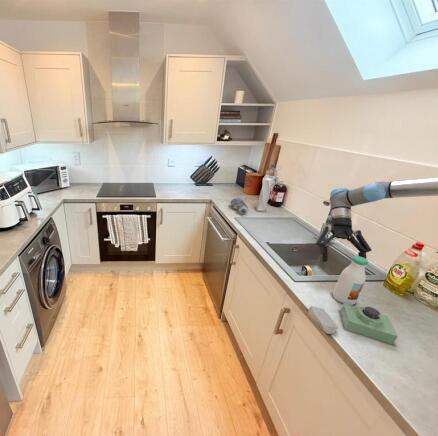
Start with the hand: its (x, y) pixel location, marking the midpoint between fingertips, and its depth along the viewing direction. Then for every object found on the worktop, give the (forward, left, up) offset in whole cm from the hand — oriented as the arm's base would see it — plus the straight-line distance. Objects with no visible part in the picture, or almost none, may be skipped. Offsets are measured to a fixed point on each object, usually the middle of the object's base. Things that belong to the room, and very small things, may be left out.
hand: (343, 263), depth 103 cm
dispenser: (-6, +24, -11) cm, 27 cm away
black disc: (-6, +24, -6) cm, 25 cm away
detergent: (+54, -76, -11) cm, 93 cm away
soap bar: (+8, +30, -11) cm, 33 cm away
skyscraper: (+38, -85, -11) cm, 94 cm away
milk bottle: (-2, +10, -11) cm, 15 cm away
